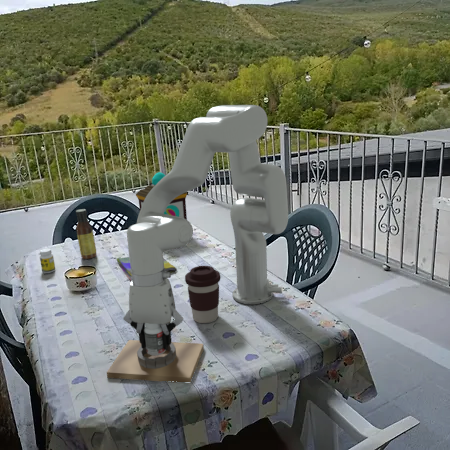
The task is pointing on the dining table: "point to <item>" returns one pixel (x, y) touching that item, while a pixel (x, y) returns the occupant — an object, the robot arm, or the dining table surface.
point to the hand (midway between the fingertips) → (155, 345)
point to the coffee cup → (203, 293)
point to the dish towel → (127, 268)
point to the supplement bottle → (47, 261)
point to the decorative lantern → (175, 206)
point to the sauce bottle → (85, 235)
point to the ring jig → (157, 362)
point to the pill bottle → (154, 338)
